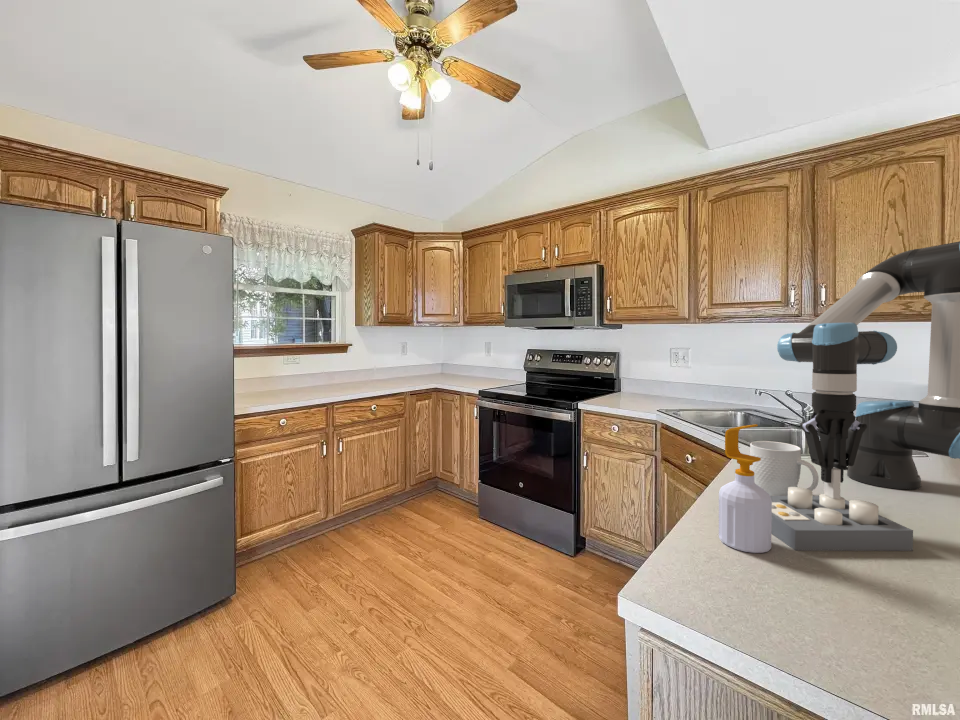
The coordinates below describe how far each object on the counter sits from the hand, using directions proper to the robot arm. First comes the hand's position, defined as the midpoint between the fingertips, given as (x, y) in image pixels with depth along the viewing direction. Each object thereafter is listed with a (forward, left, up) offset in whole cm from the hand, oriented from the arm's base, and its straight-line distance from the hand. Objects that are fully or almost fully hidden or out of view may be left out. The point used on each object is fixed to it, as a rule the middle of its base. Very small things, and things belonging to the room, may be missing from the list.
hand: (831, 496), depth 93 cm
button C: (+7, 0, -3) cm, 8 cm away
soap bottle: (+25, +10, -6) cm, 28 cm away
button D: (+7, +8, -5) cm, 12 cm away
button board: (+6, +4, -6) cm, 9 cm away
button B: (0, +8, -3) cm, 9 cm away
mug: (+1, -16, -6) cm, 17 cm away
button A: (0, 0, -5) cm, 5 cm away
